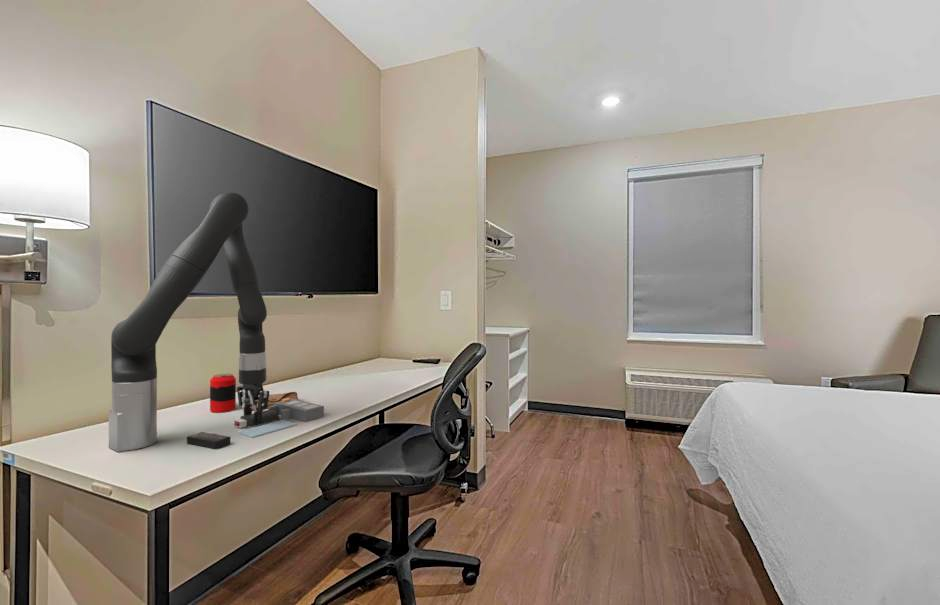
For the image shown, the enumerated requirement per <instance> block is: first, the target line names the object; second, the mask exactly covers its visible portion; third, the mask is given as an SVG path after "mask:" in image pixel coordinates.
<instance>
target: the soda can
mask: <svg viewBox="0 0 940 605" xmlns="http://www.w3.org/2000/svg"><path fill="white" fill-rule="evenodd" d="M236 379H237V378H236V377H235V376H234V375H233V373H219V374H213V376H212V378H210V380H209V382H210V383H209V411H210V412H211V413H214V414H222V413H228V412H231V411H232V412H233V411H235V409H236V408H237V407H236V405H237V403H236V400H237V399H236V398H237V395H236V394H237V386H236V384H237V380H236Z"/></svg>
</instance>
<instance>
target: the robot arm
mask: <svg viewBox="0 0 940 605" xmlns="http://www.w3.org/2000/svg"><path fill="white" fill-rule="evenodd" d="M248 204H249V203H248V202H247V200H246V199H245V197H243V196H242V195H241V194H240V193H237V192H233V191H230V192H229V191H228V192H223V193H220V194H218V195H217V196H215V198H213V199H212V201H211V202H210V204H209V207H208V209H209V210H208V212H207V214H205V217H204V218H203V220H202V221H201V223H200V225H199V226H197V228H196V229H195V230H194V231H193V232H192V233H191V234H190V235H188V236H187V238H185V239H184V240H183V241H182V243H180V244H179V245H178V247H177V248H176V249H175V250H174V251H173V252H172V253H171V255H169V258H167V260H166V261H165V263H164V264H162V267H161V268H160V269H159V271H158V273H157V275H156V276H155V277H154V280H153V282H152V284H151V285H150V288H149V290H148V292H147V293H146V296H144V299H142V301H141V302H140V303H139V305H138V306H137V307H136V308H135V309H134V310H133V311H132V313H131V314H130V315H129V316H128V317H127V318H126V319H124V320H122V321H120V322H119V323H117V324H116V325H115V327H114V328H113V329H112V332H111V336H110V337H111V342H110V345H111V347H110V348H111V366H110V367H111V409H110V410H109V411H108V448H109V449H111V450H113V451H115V452H117V453H119V452H124V451H131V450H137V449H142V448H146V447H149V446H152V445H153V444H155V443H156V442H157V441H158V368H157V360H156V359H157V357H156V356H157V354H156V353H157V351H156V350H157V347H156V346H157V342H158V340H159V339H160V337H161V335H162V333H163V331H164V329H165V328H166V326H167V325H168V323H169V322H170V320H171V318H172V316H173V315H174V313H175V312H176V311H177V309H178V308H179V307H180V306H182V304H183V303H184V302H185V300H186V299H188V297H189V296H190V294H191V293H192V292H193V291H194V289H196V287H197V286H198V284H199V283H200V282H201V280H202V279H203V278H204V276H205V275H206V274H207V272H208V271H209V269H210V268H211V266H212V264H213V263H214V261H215V260H216V257H217V256H218V254H219V253H220V250H222V247H223V250H224V251H223V252H224V255H225V259H226V264H227V268H228V273H229V277H230V281H231V284H232V290H233V293H234V294H235V295H236V298H237V301H238V306H239V309H238V311H237V324H238V332H239V356H238V383H239V384H241V385H242V386H236V394H237V402H238V405H239V406H240V407H241V409H243V416H245V415H249V414H254V424H259V423H262V411H266V410H268V409H267V406H268V399H269V395H270V391H269V390H264V386H263V384H264V383H265V382H266V381H267V356H266V337H265V334H264V333H263V323H264V322H265V321H266V319H267V314H268V313H267V312H268V310H267V306H266V304H265V300H264V297H263V295H262V293H261V290H260V285H259V284H260V283H259V281H258V275H257V270H256V266H255V264H254V262H253V259H252V256H251V254H250V252H249V249H248V247H247V245H246V241H245V237H244V231H243V222H244V221H246V219H247V217H248V215H249V205H248ZM255 400H259V401H255ZM263 403H264V406H263ZM257 404H258V407H257ZM252 405H253V408H254V411H252V408H250V407H252Z"/></svg>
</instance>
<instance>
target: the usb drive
mask: <svg viewBox="0 0 940 605" xmlns="http://www.w3.org/2000/svg"><path fill="white" fill-rule="evenodd" d="M279 420H280V415H279V414H278V413H277V412H275V411H271V410H268V409H265V410H263V411H262V423H259V424H254V413H252V414H249V415H245V416H244V415H241V416H240V418H238V419H234V420H233V426H234V427H236V428H239V429H240V428H241V429H242V428H251V427H252V428H253V427H257V426H261V425H265V424H268V423H272V422H276V421H279Z"/></svg>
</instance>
